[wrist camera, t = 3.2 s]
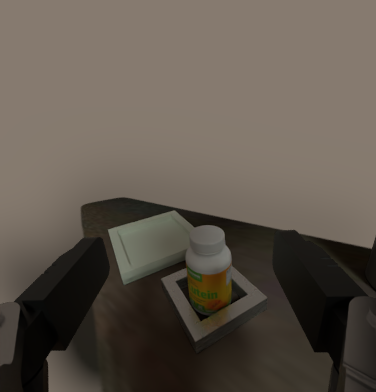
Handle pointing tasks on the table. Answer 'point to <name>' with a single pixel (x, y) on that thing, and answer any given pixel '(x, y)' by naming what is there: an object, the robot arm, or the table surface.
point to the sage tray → (150, 245)
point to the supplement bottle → (208, 270)
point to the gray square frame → (219, 322)
